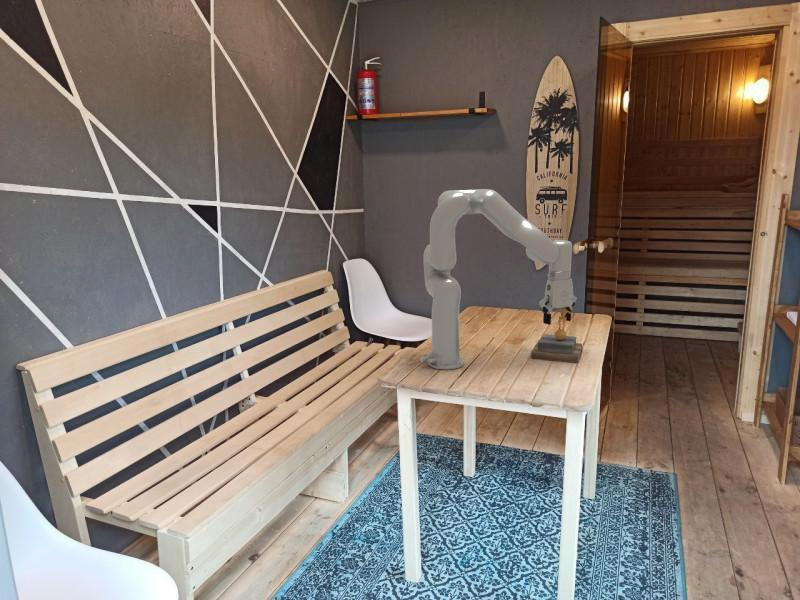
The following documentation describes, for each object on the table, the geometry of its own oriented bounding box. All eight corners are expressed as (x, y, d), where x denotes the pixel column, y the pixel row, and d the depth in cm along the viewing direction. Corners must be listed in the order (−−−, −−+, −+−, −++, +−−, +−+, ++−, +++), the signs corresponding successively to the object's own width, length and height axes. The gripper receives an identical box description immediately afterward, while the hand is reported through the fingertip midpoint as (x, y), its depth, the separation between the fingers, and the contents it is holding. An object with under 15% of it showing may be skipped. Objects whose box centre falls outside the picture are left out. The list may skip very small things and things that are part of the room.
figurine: (547, 340, 205) (548, 307, 202) (553, 335, 209) (553, 304, 207) (570, 343, 200) (571, 310, 197) (575, 338, 205) (576, 306, 202)
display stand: (577, 363, 195) (578, 348, 194) (530, 358, 202) (531, 343, 200) (581, 350, 210) (582, 335, 209) (538, 346, 216) (538, 332, 215)
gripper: (548, 279, 192) (546, 327, 196) (585, 274, 200) (582, 321, 204) (533, 276, 198) (531, 323, 202) (569, 271, 207) (566, 317, 210)
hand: (557, 322), depth 203 cm, fingers open, 9 cm apart
